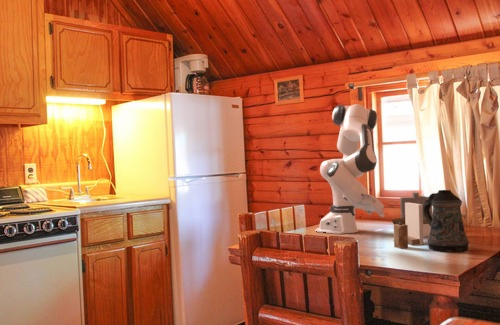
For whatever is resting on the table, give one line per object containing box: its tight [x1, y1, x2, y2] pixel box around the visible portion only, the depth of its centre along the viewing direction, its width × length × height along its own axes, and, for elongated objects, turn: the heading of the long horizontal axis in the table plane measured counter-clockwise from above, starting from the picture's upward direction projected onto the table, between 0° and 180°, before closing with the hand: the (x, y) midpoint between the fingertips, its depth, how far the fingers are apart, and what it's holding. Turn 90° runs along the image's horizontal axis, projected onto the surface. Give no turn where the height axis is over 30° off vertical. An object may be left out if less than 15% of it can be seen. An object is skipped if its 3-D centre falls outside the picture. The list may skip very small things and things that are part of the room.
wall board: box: [405, 203, 424, 246], centre depth 229 cm, size 10×6×18 cm, turn 18°
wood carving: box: [391, 212, 467, 237], centre depth 247 cm, size 9×35×11 cm, turn 75°
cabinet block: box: [393, 222, 409, 250], centre depth 220 cm, size 4×4×11 cm
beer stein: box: [423, 189, 470, 254], centre depth 214 cm, size 16×19×25 cm
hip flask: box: [399, 191, 433, 218], centre depth 263 cm, size 16×4×20 cm, turn 82°
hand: (377, 214), depth 216 cm, fingers open, 8 cm apart
